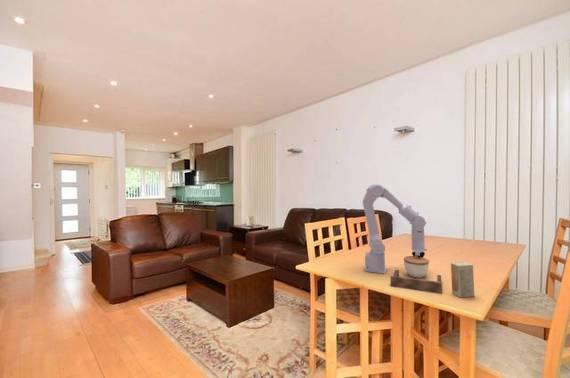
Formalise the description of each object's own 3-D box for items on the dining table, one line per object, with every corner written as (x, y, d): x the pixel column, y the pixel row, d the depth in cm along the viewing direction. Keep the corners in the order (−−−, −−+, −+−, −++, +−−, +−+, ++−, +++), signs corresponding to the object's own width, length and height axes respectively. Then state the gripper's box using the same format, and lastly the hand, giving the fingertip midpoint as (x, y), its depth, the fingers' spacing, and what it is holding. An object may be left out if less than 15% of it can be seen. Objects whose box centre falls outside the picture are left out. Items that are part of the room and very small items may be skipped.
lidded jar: (425, 281, 118) (425, 260, 118) (400, 275, 125) (400, 256, 125) (431, 274, 126) (431, 255, 126) (407, 269, 133) (407, 251, 133)
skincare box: (466, 292, 105) (466, 261, 105) (475, 296, 100) (474, 264, 100) (450, 293, 105) (450, 262, 105) (458, 297, 100) (457, 265, 100)
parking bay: (390, 285, 114) (390, 276, 114) (395, 274, 128) (395, 266, 128) (441, 293, 104) (441, 283, 104) (441, 280, 118) (441, 271, 118)
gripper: (426, 242, 123) (427, 272, 123) (427, 237, 136) (428, 263, 136) (410, 241, 127) (410, 270, 127) (412, 236, 139) (413, 262, 139)
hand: (418, 266), depth 131 cm, fingers closed
